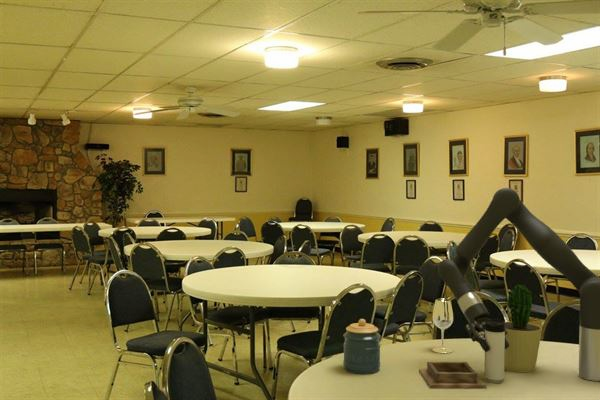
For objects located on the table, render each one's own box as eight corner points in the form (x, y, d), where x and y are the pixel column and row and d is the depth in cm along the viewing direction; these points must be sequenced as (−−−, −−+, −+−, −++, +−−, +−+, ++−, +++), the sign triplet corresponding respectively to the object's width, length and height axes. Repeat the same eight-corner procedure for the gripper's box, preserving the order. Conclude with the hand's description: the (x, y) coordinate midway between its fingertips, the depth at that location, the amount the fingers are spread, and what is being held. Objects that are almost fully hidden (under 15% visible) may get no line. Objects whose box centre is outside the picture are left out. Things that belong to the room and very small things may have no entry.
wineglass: (454, 353, 243) (455, 301, 243) (434, 353, 243) (435, 301, 243) (450, 348, 251) (450, 298, 250) (430, 348, 251) (431, 297, 250)
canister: (335, 369, 221) (336, 318, 221) (358, 361, 231) (358, 313, 230) (365, 377, 213) (365, 324, 212) (387, 369, 222) (388, 318, 222)
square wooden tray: (470, 371, 219) (471, 360, 219) (486, 388, 201) (486, 376, 201) (419, 371, 219) (419, 359, 219) (430, 388, 201) (430, 375, 201)
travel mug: (506, 379, 211) (507, 319, 211) (501, 384, 205) (502, 323, 205) (487, 376, 214) (488, 317, 214) (481, 381, 209) (482, 320, 208)
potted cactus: (508, 359, 236) (509, 278, 235) (548, 367, 225) (550, 283, 224) (487, 367, 225) (488, 283, 224) (528, 376, 214) (530, 288, 213)
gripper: (463, 303, 213) (487, 345, 203) (494, 300, 219) (519, 340, 209) (452, 316, 217) (475, 357, 208) (482, 312, 224) (507, 352, 214)
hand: (497, 349), depth 209 cm, fingers open, 8 cm apart
